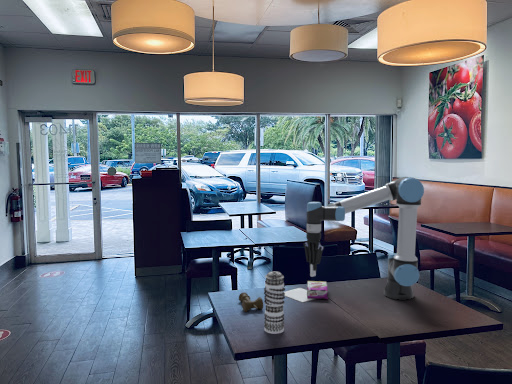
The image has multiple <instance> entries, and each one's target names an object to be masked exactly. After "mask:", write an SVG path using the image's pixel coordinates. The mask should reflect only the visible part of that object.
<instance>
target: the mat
mask: <svg viewBox="0 0 512 384" xmlns="http://www.w3.org/2000/svg"><path fill="white" fill-rule="evenodd" d="M283 292H284V293H285V295H283V296H284V297H285V298H286V297H287V298H289V299H292V300H295V301H297V302H300V303H306V302H309V301H313V300H314V299H313V298H307V289H304V288H302V287H297V288H294V289H290V290H285V291H283Z"/></svg>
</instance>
